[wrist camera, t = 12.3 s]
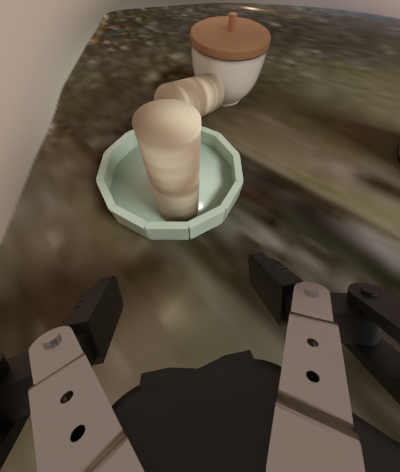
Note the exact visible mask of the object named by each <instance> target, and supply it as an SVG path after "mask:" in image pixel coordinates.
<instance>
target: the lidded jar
mask: <svg viewBox="0 0 400 472" xmlns="http://www.w3.org/2000/svg"><path fill="white" fill-rule="evenodd" d="M270 40H271V36H270V33H269V31H268V30H267V29H266V28H265V27H264V26H262V25H261V24H259V23H257V22H254V21H252V20H249V19H245V18H239V17H237V13H235V12H230V13H229V16H220V17H212V18H207V19H204V20H202V21H199V22H198V23H196V24H195V25H194V26H193V27H192V29H191V44H192V64H193V71H194V76H199V75H203V74H207V73H213V74H215V75H217V76H218V77H219V78H220V79H221V81H222V83H223V86H224V99H223V102H222V104H221V106H222V107H227V106H233V105H235V104H237V103H238V102H239V101H240V100H241V99H242V98H243V97H245V96H246V95H247V94H248V93H249V92H250V90H251V89H252V88H253V86H254V84H255V83H256V81H257V79H258V77H259V74H260V71H261V69H262V66H263V62H264V59H265V55H266V52H267V50H268V47H269V44H270Z"/></svg>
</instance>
